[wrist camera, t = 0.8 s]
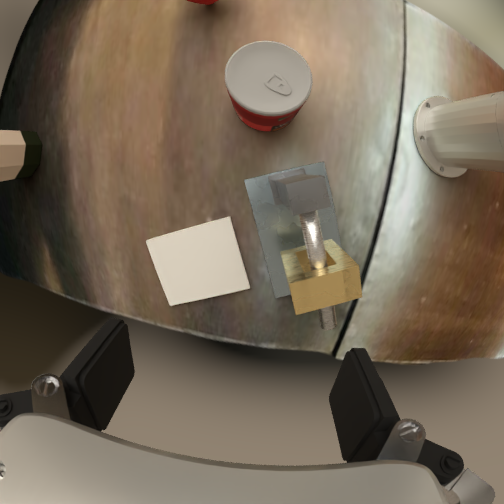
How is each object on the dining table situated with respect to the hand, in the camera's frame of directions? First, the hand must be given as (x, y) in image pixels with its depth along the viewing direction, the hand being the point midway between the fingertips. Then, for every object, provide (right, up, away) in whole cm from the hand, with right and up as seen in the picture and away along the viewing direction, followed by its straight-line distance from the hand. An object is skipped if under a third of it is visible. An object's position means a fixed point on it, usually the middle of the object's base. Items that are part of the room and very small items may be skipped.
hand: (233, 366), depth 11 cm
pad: (-7, +3, +26) cm, 27 cm away
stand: (+7, +7, +25) cm, 27 cm away
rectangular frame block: (+7, +4, +20) cm, 22 cm away
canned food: (+2, +23, +20) cm, 31 cm away
